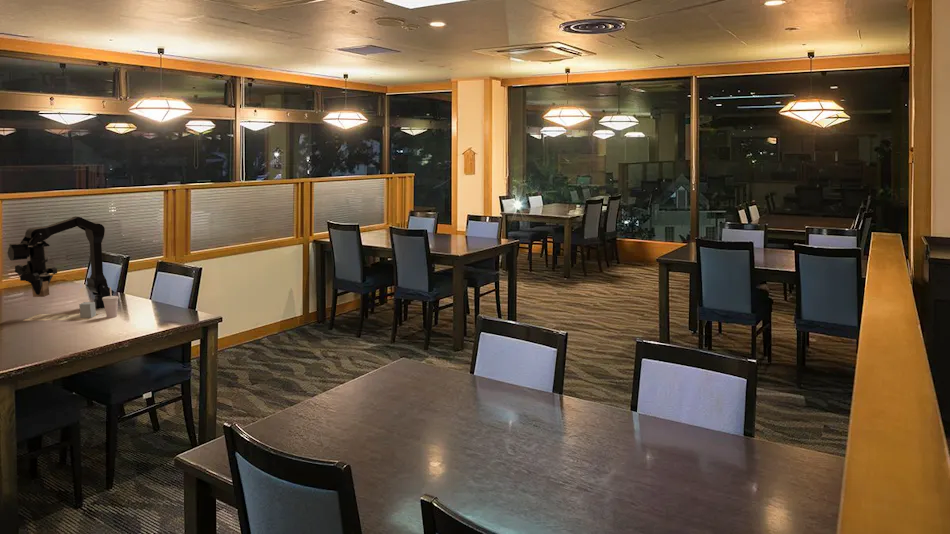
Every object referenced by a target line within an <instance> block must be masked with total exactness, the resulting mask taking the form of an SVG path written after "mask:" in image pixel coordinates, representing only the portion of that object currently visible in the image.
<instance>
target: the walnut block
mask: <svg viewBox="0 0 950 534" xmlns="http://www.w3.org/2000/svg"><path fill="white" fill-rule="evenodd" d="M31 291H32V297H33V298H38V297H39V298H45V297H46V296H49V295H50V287H49V285H48V281H42V286H41V291H40V294H39V295H36V293H35V291H34V289H33V287H32V286H31Z"/></svg>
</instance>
